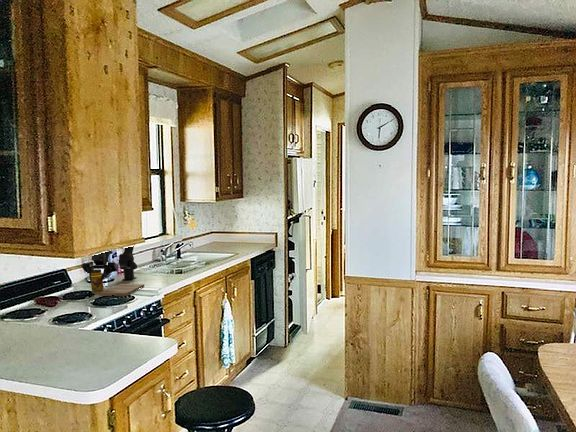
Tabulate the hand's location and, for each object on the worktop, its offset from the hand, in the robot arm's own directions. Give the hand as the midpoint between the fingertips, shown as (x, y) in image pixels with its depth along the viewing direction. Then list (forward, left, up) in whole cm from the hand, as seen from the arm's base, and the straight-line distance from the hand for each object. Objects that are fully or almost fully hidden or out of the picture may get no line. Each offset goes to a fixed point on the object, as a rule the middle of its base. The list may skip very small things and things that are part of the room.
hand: (96, 280), depth 276 cm
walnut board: (-2, +14, -7) cm, 15 cm away
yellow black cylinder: (-1, -1, -7) cm, 7 cm away
